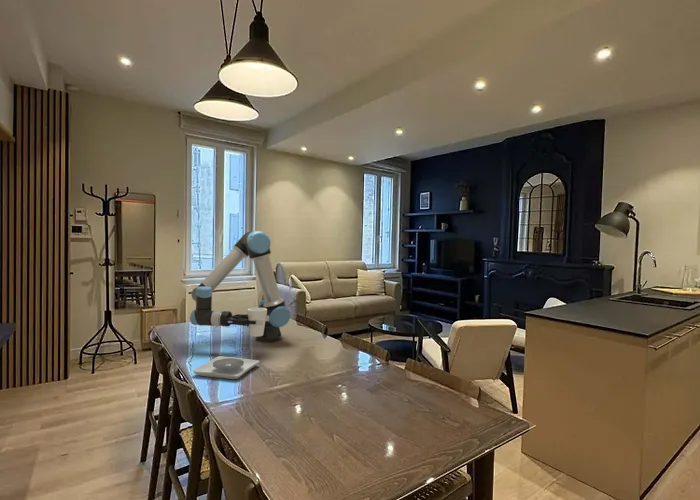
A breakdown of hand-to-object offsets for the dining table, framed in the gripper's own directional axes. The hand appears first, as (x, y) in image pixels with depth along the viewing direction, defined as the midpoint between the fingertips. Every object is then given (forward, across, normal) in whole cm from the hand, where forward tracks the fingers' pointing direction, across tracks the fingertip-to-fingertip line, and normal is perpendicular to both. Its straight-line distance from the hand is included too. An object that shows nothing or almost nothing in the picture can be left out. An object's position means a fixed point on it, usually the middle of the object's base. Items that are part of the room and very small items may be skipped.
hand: (265, 320), depth 191 cm
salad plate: (-10, +24, -19) cm, 32 cm away
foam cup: (-4, 0, -8) cm, 9 cm away
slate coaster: (-9, +24, -15) cm, 30 cm away
